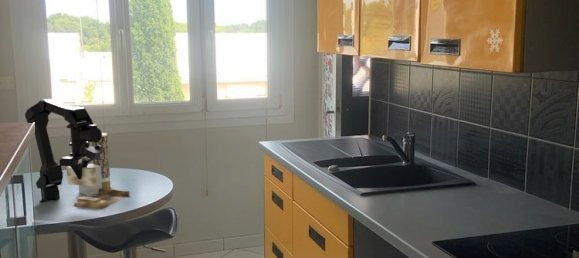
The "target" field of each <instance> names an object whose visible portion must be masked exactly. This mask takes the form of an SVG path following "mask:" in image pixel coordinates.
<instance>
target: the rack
mask: <svg viewBox="0 0 579 258" xmlns="http://www.w3.org/2000/svg"><path fill="white" fill-rule="evenodd" d="M129 196H130V190H128V189H127V190H125V189H124V190H123V189H115V188H109V189H104V188H100V189H99V193H98V194H94V195H92V197H93V198H100V199H101V200H105V201H107V204H108V206H106V207H104V208H97V209H99V210H100V209H101V210H104V209H105V208H107V207H109V206H111V205H113V204H115V203H117V202H119V201H121V200H123V199H125V198H127V197H129ZM72 206H73V207H75V206H74V204H73V205H72ZM77 207H79V208H80V207H81V208H85V207H84V206H77ZM87 208H88V209H89V208H90V209H91V208H92V209H94V208H93V207H87Z"/></svg>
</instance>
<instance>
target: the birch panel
mask: <svg viewBox="0 0 579 258" xmlns="http://www.w3.org/2000/svg"><path fill="white" fill-rule="evenodd" d="M66 177H67V184H68V185H73V186H75V185H76V186H79V185H84V186H96V185H97V183H96V168H88V167H82V177H81V179H78V177H77V176H76V174H75V172H74V171H73V169H72V168H71V167H70V166H66Z"/></svg>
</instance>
